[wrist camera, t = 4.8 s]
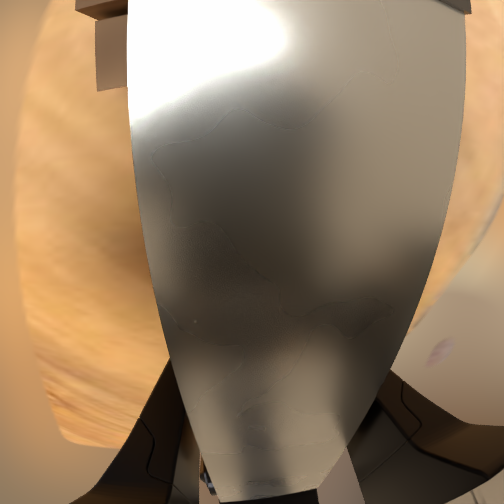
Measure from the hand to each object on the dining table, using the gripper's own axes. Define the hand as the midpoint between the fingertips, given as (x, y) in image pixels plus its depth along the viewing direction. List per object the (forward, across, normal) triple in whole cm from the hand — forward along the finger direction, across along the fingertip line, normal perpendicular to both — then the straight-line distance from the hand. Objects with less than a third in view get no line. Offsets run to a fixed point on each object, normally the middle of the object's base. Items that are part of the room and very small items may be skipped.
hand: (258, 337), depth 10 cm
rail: (+1, 0, -2) cm, 2 cm away
